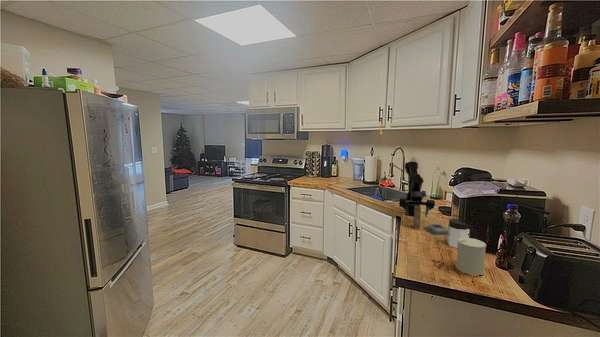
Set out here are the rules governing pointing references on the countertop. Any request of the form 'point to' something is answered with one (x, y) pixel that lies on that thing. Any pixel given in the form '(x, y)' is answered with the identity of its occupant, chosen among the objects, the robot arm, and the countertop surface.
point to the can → (470, 256)
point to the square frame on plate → (436, 229)
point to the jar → (456, 232)
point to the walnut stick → (417, 217)
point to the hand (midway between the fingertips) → (417, 215)
